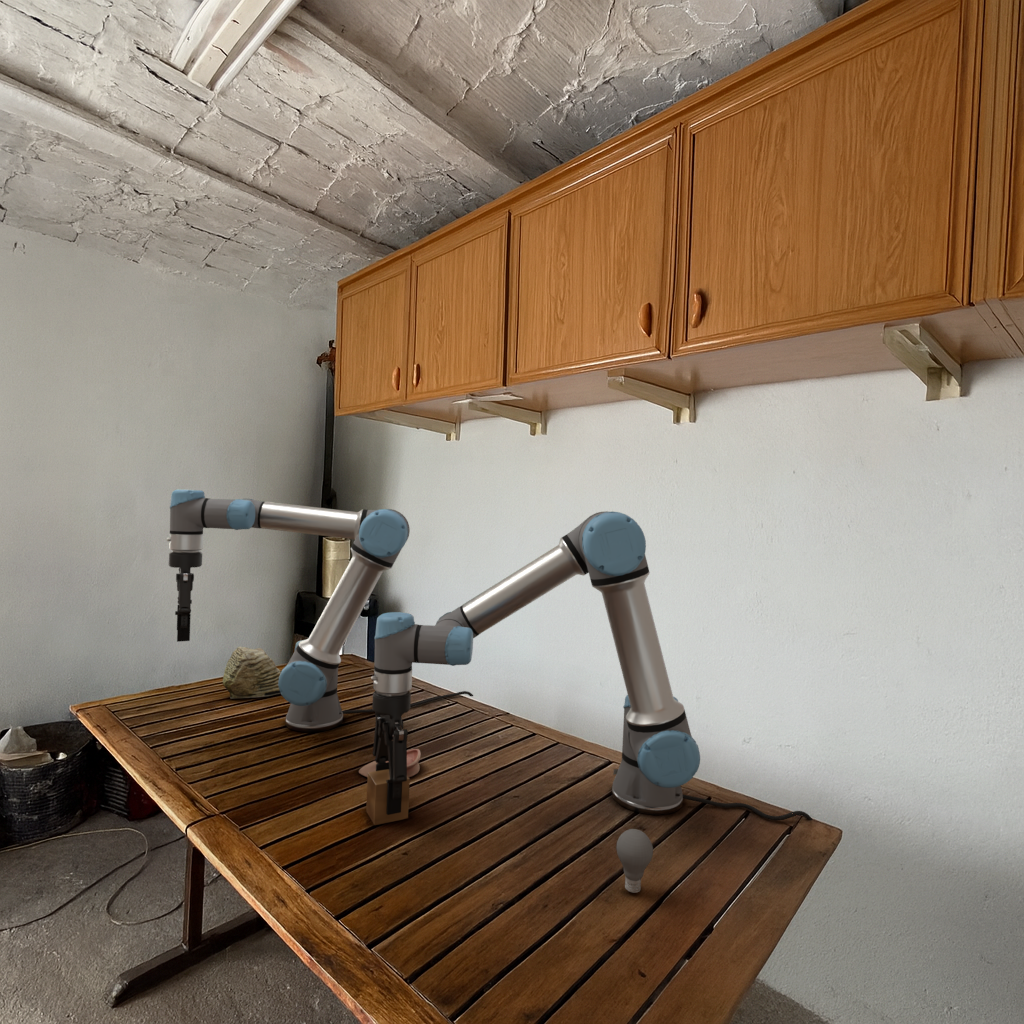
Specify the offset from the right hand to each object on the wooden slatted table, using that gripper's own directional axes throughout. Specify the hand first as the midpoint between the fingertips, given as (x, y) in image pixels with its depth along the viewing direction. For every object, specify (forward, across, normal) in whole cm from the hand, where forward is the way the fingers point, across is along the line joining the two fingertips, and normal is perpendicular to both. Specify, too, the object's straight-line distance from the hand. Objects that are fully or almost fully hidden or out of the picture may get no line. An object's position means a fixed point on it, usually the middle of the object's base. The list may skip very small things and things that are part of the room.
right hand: (387, 803), depth 127 cm
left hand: (-24, -56, -37) cm, 72 cm away
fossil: (+2, -88, -16) cm, 90 cm away
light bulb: (+2, +41, +30) cm, 50 cm away
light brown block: (+2, 0, 0) cm, 2 cm away
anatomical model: (+2, -19, +7) cm, 20 cm away
